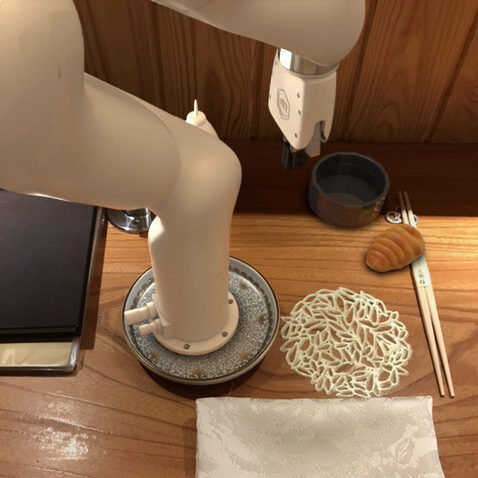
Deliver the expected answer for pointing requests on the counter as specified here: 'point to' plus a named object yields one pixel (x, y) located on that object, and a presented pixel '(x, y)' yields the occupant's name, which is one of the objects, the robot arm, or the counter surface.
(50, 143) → the robot arm
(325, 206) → the pot
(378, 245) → the pastry
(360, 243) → the counter surface
